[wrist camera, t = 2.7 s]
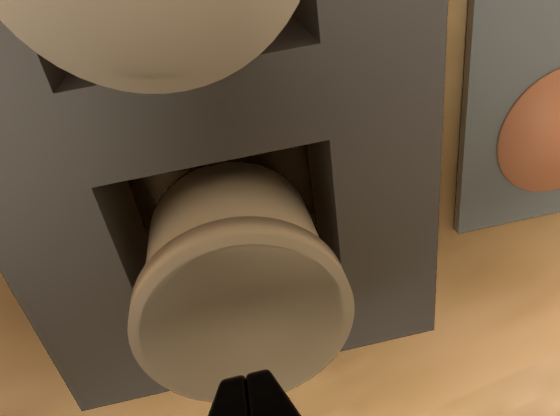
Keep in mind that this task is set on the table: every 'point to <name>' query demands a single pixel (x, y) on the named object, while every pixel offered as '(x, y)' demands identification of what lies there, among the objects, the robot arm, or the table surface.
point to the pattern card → (509, 114)
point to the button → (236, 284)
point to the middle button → (148, 38)
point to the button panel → (216, 148)
